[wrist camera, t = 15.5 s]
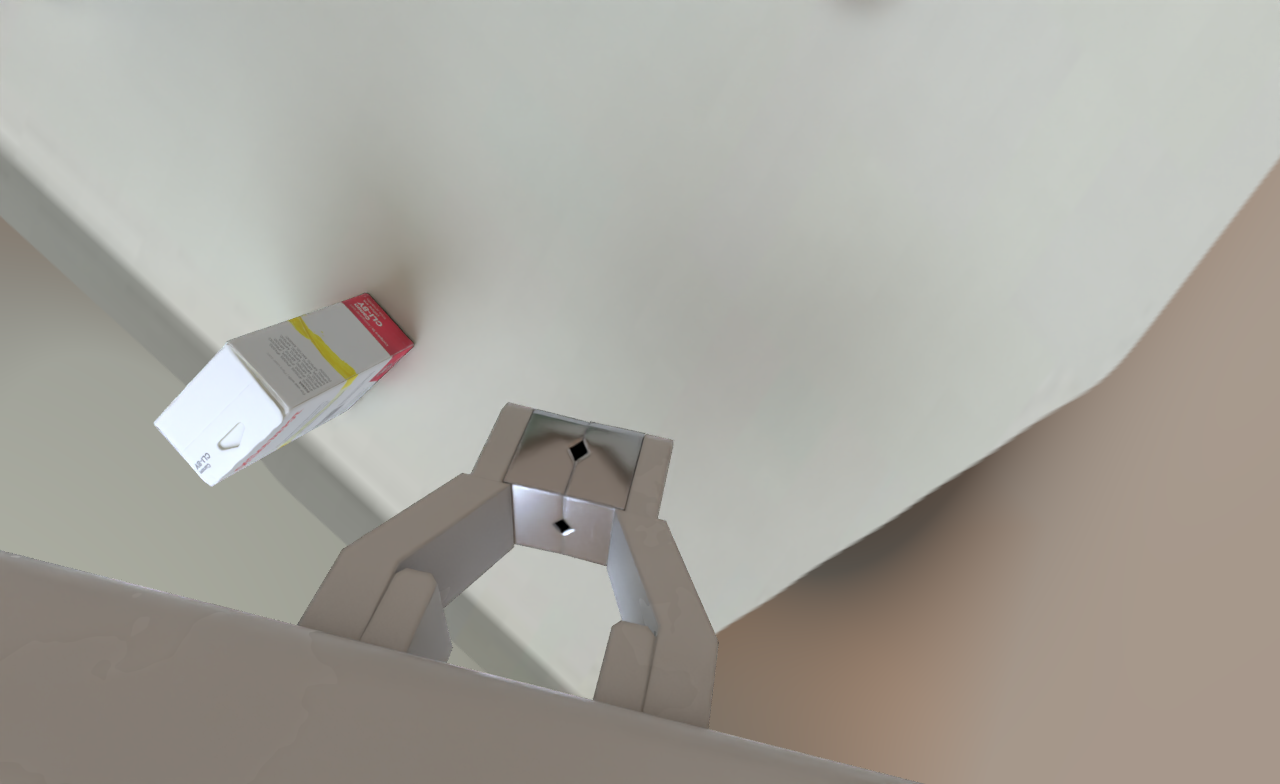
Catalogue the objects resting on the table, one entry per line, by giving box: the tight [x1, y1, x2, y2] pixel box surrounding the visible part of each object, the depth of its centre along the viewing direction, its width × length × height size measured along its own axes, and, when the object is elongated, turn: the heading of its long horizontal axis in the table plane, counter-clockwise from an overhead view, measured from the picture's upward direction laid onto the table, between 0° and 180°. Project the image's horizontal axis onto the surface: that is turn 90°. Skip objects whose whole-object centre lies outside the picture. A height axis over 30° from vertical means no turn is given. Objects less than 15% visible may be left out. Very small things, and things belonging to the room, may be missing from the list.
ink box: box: [154, 293, 414, 486], centre depth 40 cm, size 9×5×12 cm, turn 130°
